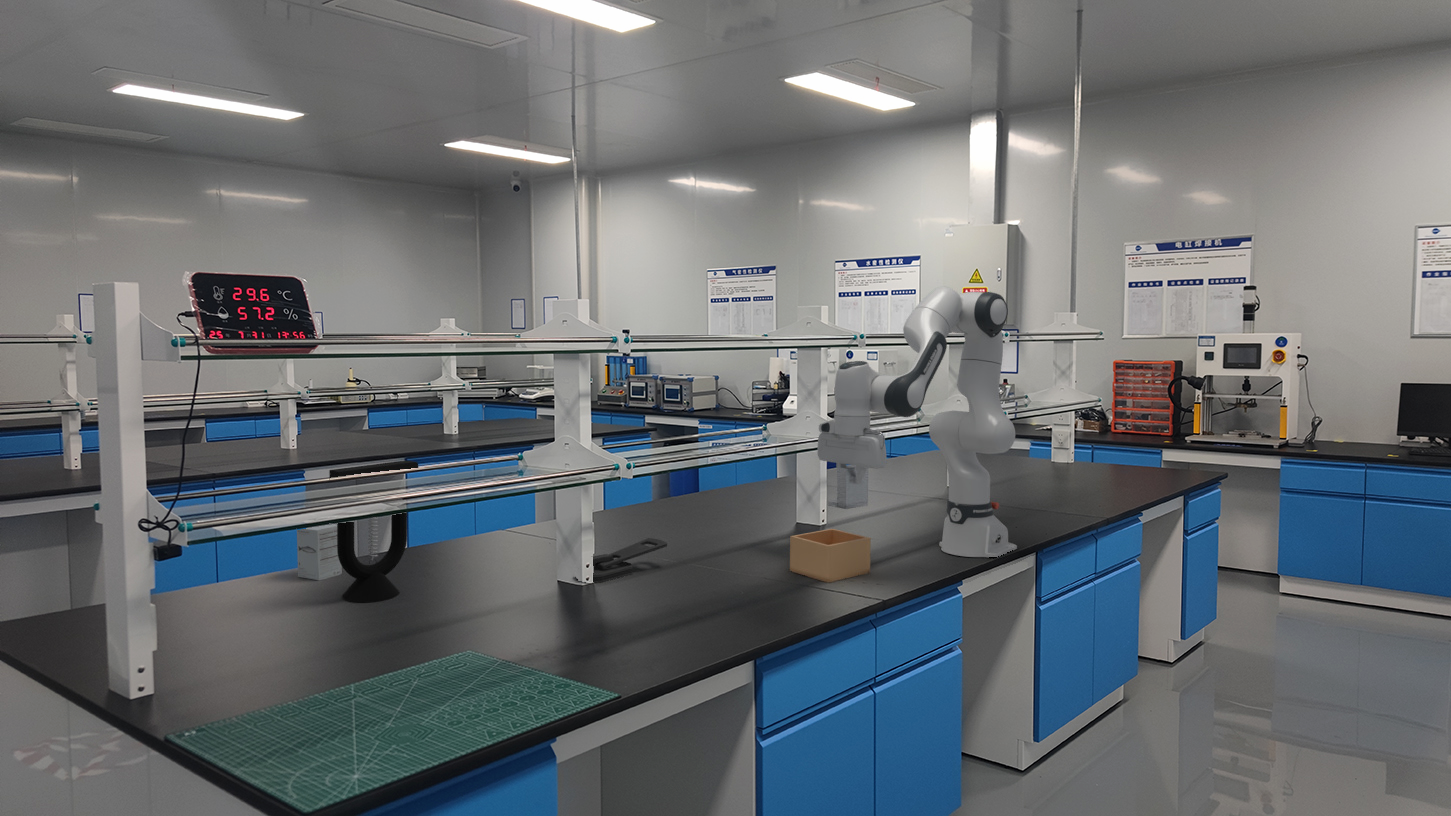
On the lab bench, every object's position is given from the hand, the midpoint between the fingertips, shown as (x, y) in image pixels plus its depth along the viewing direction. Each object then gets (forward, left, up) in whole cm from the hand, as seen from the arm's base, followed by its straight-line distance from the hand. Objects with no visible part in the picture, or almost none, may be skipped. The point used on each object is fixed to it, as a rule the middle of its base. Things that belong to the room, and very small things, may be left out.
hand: (850, 482), depth 223 cm
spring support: (+98, -55, -24) cm, 115 cm away
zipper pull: (+44, -37, -24) cm, 62 cm away
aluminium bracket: (-1, -1, -6) cm, 6 cm away
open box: (+1, -5, -24) cm, 24 cm away
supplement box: (+104, -79, -24) cm, 133 cm away
